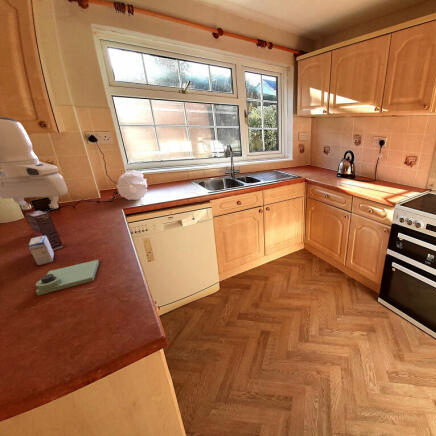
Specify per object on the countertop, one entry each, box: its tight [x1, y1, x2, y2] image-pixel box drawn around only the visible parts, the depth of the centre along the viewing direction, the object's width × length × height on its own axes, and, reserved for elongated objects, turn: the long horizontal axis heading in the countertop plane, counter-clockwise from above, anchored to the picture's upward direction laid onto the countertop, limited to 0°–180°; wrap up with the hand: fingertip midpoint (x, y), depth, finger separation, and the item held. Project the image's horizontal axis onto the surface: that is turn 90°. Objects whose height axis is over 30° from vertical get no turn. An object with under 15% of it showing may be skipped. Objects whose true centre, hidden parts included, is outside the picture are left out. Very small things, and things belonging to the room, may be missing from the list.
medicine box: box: [28, 236, 55, 266], centre depth 93 cm, size 8×4×9 cm, turn 40°
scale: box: [35, 259, 100, 296], centre depth 83 cm, size 14×14×3 cm
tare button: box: [40, 274, 55, 284], centre depth 77 cm, size 3×3×2 cm
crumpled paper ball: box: [115, 169, 148, 201], centre depth 171 cm, size 18×18×25 cm
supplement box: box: [24, 210, 64, 252], centre depth 101 cm, size 9×5×16 cm, turn 65°
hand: (41, 208), depth 85 cm, fingers open, 8 cm apart
